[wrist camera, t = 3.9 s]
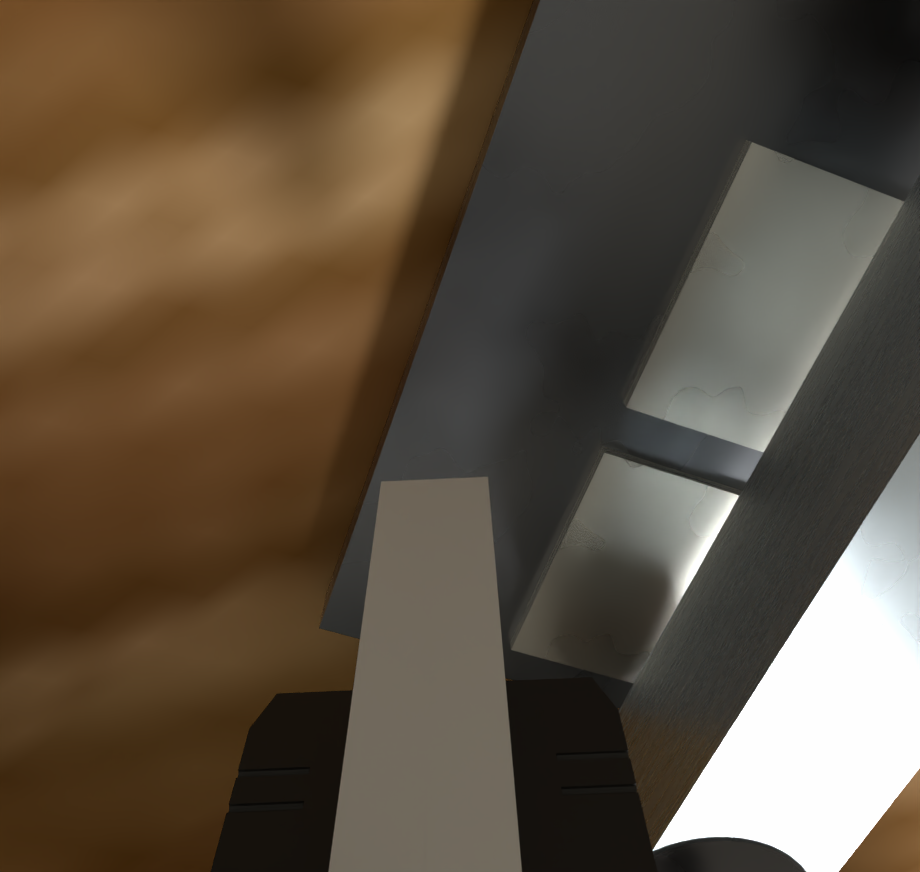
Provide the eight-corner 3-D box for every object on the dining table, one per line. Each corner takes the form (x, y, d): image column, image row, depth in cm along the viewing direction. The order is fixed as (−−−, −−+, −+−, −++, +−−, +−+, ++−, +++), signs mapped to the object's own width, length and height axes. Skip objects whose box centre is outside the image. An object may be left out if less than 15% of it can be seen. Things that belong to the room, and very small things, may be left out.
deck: (863, 742, 22) (935, 867, 19) (325, 594, 20) (302, 708, 17) (1338, 93, 16) (1574, 114, 12) (616, -236, 13) (670, -316, 10)
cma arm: (713, 853, 18) (764, 1012, 15) (533, 809, 17) (551, 966, 15) (1360, -90, 11) (1689, -126, 8) (1093, -222, 10) (1346, -314, 7)
